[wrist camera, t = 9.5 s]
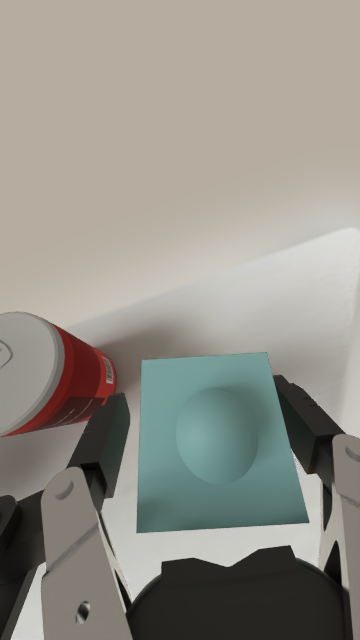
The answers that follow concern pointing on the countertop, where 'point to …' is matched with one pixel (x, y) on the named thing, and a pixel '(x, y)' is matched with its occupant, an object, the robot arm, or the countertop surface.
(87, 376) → the canned food
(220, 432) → the teal brick
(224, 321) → the countertop surface
